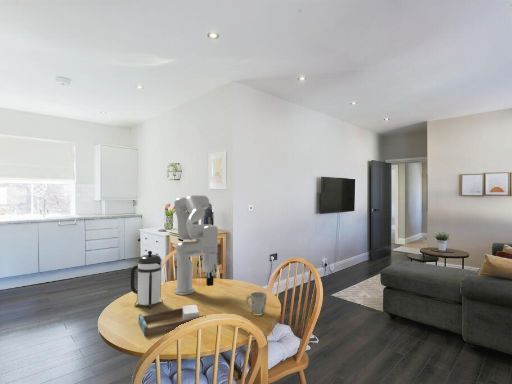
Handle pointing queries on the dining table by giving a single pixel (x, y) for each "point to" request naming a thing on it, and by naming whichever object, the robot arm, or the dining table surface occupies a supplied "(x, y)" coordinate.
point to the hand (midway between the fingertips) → (209, 285)
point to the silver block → (190, 312)
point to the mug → (257, 302)
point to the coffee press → (147, 279)
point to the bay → (162, 327)
